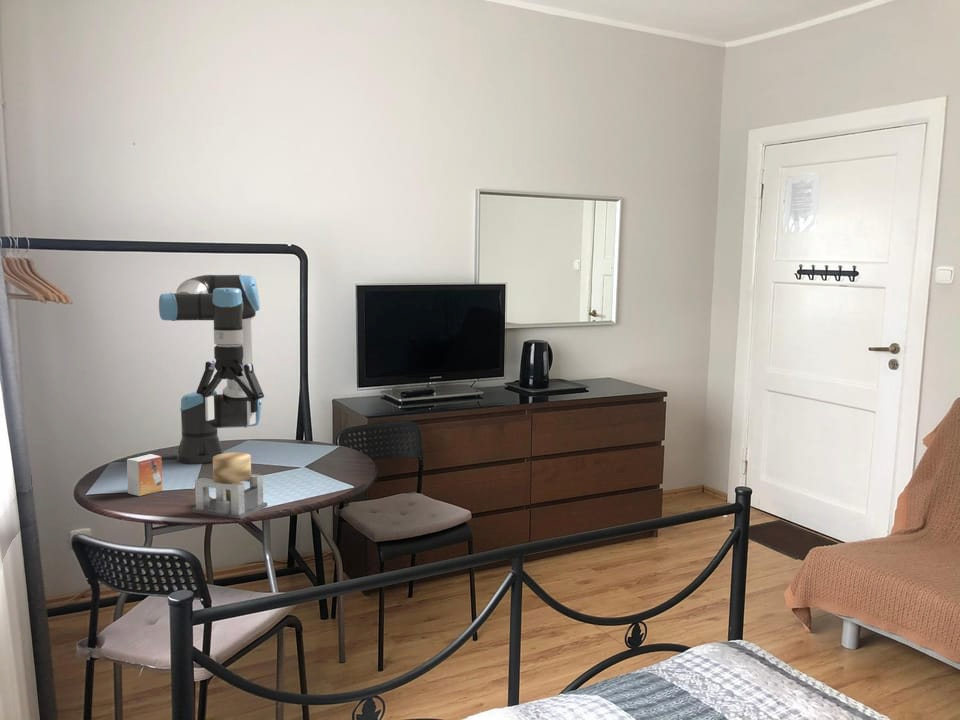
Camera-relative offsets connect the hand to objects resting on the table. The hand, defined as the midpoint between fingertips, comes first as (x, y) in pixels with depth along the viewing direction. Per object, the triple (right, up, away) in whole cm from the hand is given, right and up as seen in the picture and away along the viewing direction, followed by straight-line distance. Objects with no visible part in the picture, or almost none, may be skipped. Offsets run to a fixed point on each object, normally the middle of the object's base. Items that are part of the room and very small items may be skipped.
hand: (230, 422), depth 215 cm
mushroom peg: (0, -21, +2) cm, 22 cm away
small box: (-31, -22, +17) cm, 42 cm away
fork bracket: (-1, -24, +2) cm, 25 cm away
